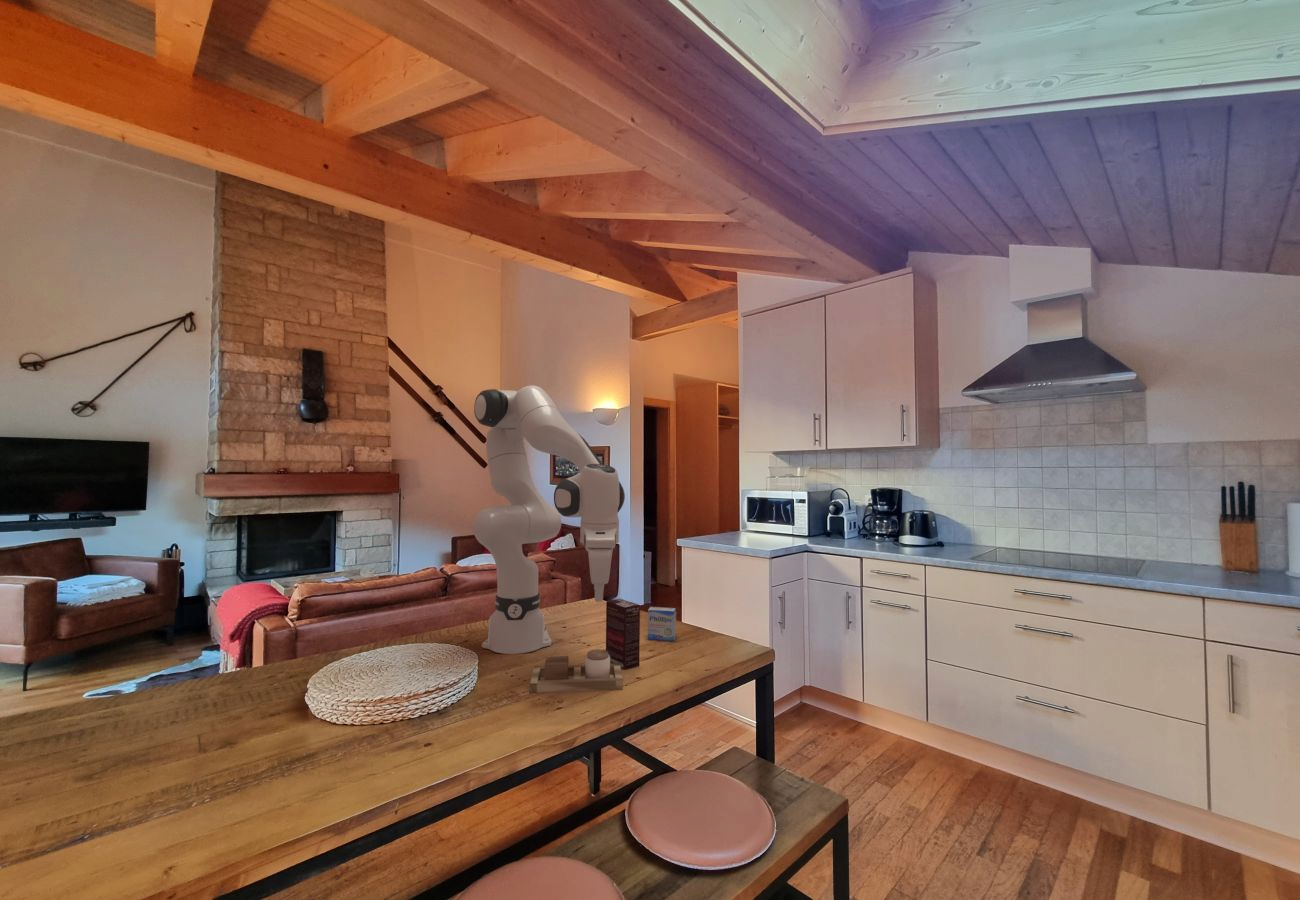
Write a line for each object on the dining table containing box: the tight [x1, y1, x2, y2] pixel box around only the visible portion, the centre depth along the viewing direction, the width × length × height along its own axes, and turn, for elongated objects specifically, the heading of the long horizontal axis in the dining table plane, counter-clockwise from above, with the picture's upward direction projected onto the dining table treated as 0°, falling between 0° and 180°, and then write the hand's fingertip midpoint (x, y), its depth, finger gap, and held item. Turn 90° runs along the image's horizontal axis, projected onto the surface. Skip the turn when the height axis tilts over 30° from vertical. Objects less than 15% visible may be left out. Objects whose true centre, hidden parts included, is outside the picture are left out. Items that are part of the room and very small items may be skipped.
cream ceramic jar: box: [584, 649, 611, 679], centre depth 120 cm, size 6×6×6 cm
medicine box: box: [647, 606, 677, 642], centre depth 154 cm, size 8×4×9 cm, turn 81°
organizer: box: [529, 663, 624, 694], centre depth 119 cm, size 10×20×3 cm, turn 97°
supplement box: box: [605, 598, 641, 671], centre depth 132 cm, size 9×5×16 cm, turn 39°
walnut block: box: [544, 655, 569, 680], centre depth 119 cm, size 5×5×5 cm
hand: (598, 595), depth 121 cm, fingers open, 8 cm apart
